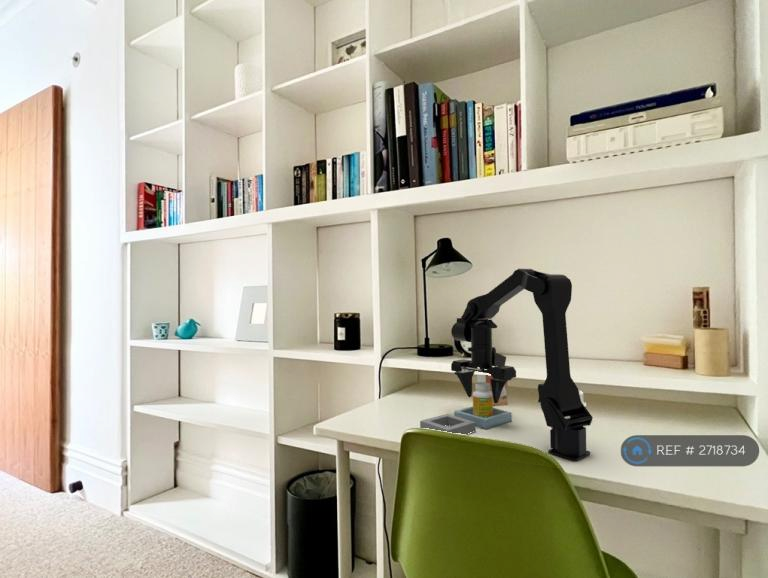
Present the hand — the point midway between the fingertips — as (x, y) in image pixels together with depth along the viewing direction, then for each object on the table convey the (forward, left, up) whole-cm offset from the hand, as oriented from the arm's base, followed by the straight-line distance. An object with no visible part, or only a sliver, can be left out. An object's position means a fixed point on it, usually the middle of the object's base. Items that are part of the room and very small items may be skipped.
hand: (482, 399), depth 119 cm
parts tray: (0, 0, -6) cm, 6 cm away
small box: (+10, -17, -6) cm, 21 cm away
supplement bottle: (0, 0, -5) cm, 5 cm away
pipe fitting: (-16, -19, -6) cm, 26 cm away
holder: (0, +14, -6) cm, 15 cm away
